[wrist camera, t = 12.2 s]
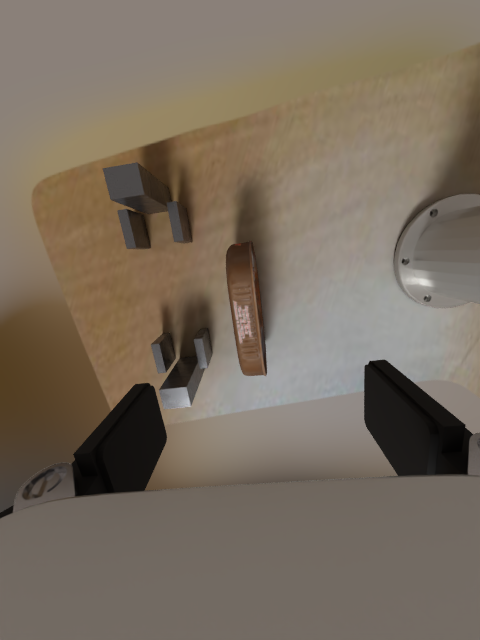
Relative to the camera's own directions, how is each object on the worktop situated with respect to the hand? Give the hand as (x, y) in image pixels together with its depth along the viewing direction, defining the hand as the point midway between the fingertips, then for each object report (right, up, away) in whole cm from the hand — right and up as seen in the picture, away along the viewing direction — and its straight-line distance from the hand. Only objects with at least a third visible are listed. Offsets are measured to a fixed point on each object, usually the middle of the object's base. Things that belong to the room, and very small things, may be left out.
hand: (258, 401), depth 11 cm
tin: (0, +6, +21) cm, 21 cm away
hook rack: (-9, +7, +20) cm, 23 cm away
